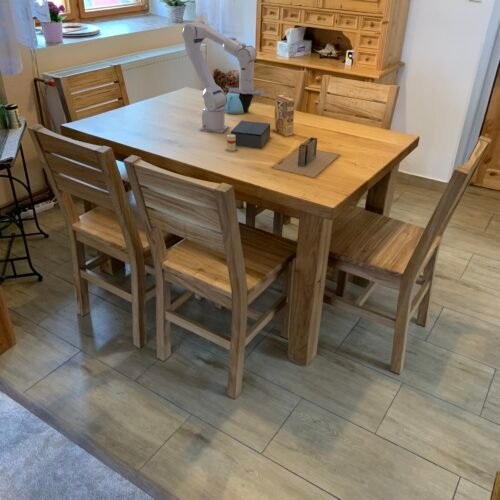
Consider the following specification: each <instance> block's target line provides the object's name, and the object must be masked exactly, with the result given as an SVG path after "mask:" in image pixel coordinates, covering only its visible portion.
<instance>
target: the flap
mask: <svg viewBox="0 0 500 500" xmlns="http://www.w3.org/2000/svg"><path fill="white" fill-rule="evenodd" d="M256 122H257V121H249V120H242V119H241V120H240V121H239V122H238V123H237V124H236V125H235V127H233V129H231V130H230V133H231V132H236V133H244V134H246V133H247V131H248V130H249V129H250V128H251V127H252V126H253V125H254V124H255V123H256Z"/></svg>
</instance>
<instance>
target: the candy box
mask: <svg viewBox="0 0 500 500" xmlns="http://www.w3.org/2000/svg"><path fill="white" fill-rule="evenodd" d="M295 100H296V99H294V98H291V97H289V96H287V95H284V94H280V95H275V97H274V123H273V124H274V127H273V131H275V132H276V133H279V134H281V135H283V136H286V137H287V136H293V134H294V121H295V119H294V118H295V102H296V101H295Z"/></svg>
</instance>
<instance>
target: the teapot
mask: <svg viewBox="0 0 500 500" xmlns="http://www.w3.org/2000/svg"><path fill="white" fill-rule="evenodd" d="M222 91H223V92H224V90H223V89H222ZM226 95H227V99H228V101H227V104H226V105H225V108H224V112H225V113H227V114H232V115H239V114H240V115H241V114H245V113H244V111H243V106H242V103H241V101H240V99H239V95H240V94H235V93H231V94H230V93H229V92H227V94H226ZM251 106H252V102H251V103H250V106H249V108H250V107H251Z"/></svg>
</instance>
